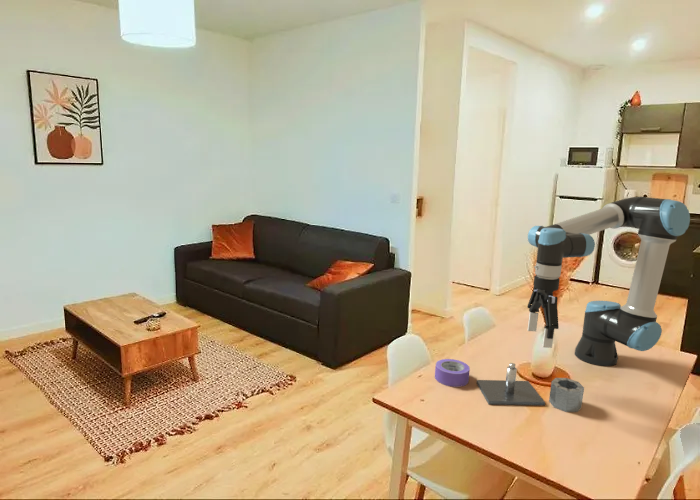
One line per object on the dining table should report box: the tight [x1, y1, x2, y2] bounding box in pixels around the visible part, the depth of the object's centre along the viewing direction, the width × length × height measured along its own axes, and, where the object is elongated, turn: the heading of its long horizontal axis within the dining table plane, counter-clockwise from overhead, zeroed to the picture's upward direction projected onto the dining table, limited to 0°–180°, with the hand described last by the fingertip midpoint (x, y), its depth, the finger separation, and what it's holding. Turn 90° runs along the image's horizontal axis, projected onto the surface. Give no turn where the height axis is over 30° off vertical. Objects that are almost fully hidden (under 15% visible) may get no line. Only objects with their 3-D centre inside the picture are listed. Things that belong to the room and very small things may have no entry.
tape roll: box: [434, 358, 471, 388], centre depth 165 cm, size 12×12×5 cm
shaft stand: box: [476, 362, 546, 407], centre depth 155 cm, size 18×14×11 cm
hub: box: [548, 377, 585, 413], centre depth 150 cm, size 9×9×7 cm
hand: (539, 338), depth 154 cm, fingers open, 13 cm apart
